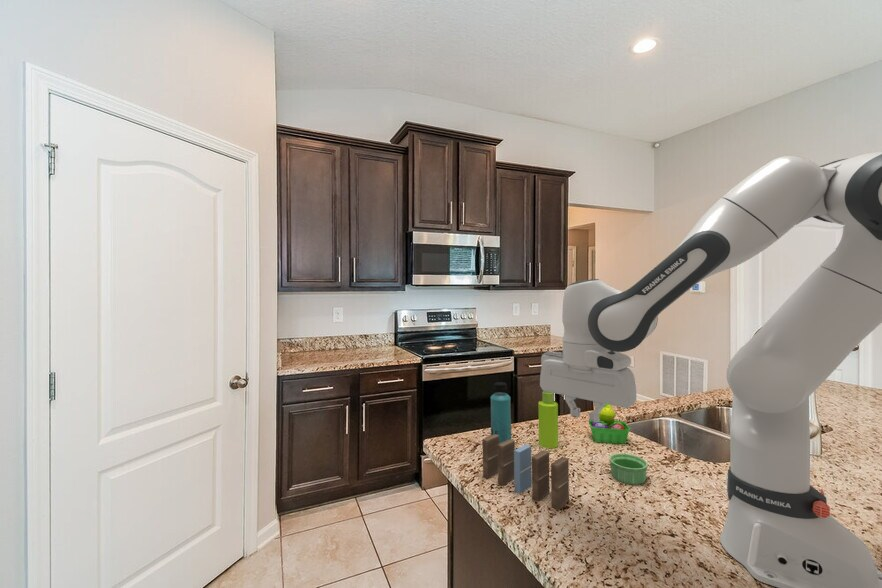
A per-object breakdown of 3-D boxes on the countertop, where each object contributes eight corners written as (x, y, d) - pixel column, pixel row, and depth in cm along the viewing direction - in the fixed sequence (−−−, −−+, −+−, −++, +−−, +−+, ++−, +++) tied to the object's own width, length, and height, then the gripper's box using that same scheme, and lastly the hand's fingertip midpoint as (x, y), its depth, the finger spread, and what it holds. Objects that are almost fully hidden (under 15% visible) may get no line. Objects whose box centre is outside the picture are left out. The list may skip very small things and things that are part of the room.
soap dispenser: (562, 449, 117) (562, 384, 116) (539, 447, 118) (538, 383, 118) (560, 441, 122) (560, 379, 122) (538, 440, 124) (537, 378, 123)
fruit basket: (591, 443, 121) (591, 407, 121) (587, 433, 129) (587, 399, 129) (630, 446, 118) (630, 410, 118) (623, 435, 127) (623, 401, 127)
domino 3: (531, 485, 95) (531, 446, 95) (520, 493, 92) (519, 452, 92) (526, 483, 97) (525, 444, 97) (514, 491, 93) (514, 450, 93)
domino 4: (549, 493, 92) (549, 452, 92) (538, 501, 88) (537, 458, 88) (543, 491, 93) (543, 450, 93) (532, 499, 90) (531, 456, 89)
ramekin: (604, 478, 99) (604, 461, 99) (616, 466, 106) (616, 450, 106) (641, 490, 93) (641, 472, 93) (652, 476, 99) (652, 459, 99)
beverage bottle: (515, 445, 120) (514, 381, 120) (506, 453, 115) (506, 386, 114) (496, 441, 124) (495, 379, 123) (487, 448, 118) (486, 384, 118)
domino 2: (515, 478, 99) (514, 440, 99) (503, 486, 96) (502, 446, 95) (509, 476, 100) (509, 438, 100) (498, 483, 97) (497, 444, 97)
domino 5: (568, 501, 88) (568, 458, 88) (557, 510, 85) (557, 466, 85) (562, 499, 89) (562, 456, 89) (551, 507, 86) (550, 463, 86)
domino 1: (499, 472, 103) (499, 435, 103) (487, 479, 99) (487, 440, 99) (494, 470, 104) (494, 433, 104) (482, 476, 100) (482, 439, 100)
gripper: (534, 351, 88) (534, 411, 88) (627, 363, 73) (627, 435, 73) (548, 348, 92) (549, 405, 92) (639, 358, 77) (639, 426, 77)
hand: (584, 418), depth 82 cm, fingers open, 3 cm apart
